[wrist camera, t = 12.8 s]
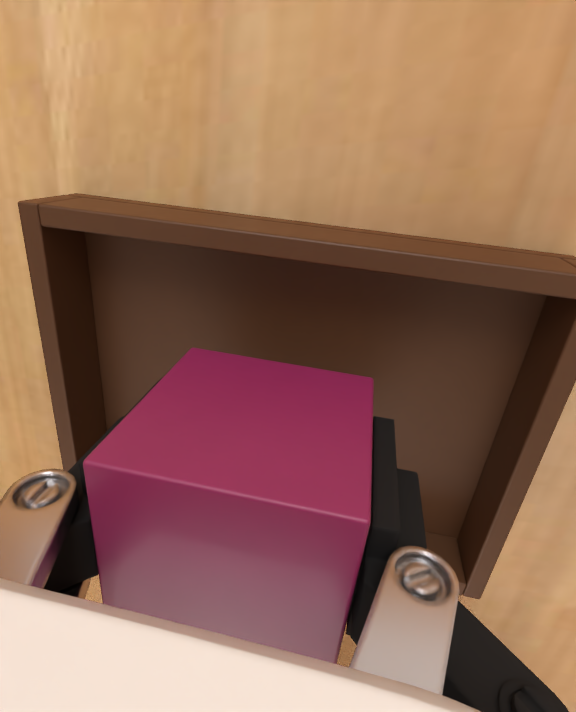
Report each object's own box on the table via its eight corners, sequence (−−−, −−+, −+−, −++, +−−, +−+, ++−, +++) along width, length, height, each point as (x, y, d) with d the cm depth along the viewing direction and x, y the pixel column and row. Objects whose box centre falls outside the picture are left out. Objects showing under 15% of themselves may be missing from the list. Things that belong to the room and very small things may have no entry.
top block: (192, 485, 14) (106, 638, 10) (191, 346, 12) (79, 461, 8) (345, 517, 14) (329, 697, 9) (374, 376, 11) (371, 523, 7)
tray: (106, 465, 19) (69, 508, 17) (75, 192, 14) (16, 201, 12) (466, 539, 17) (480, 600, 15) (575, 255, 12) (621, 280, 10)
